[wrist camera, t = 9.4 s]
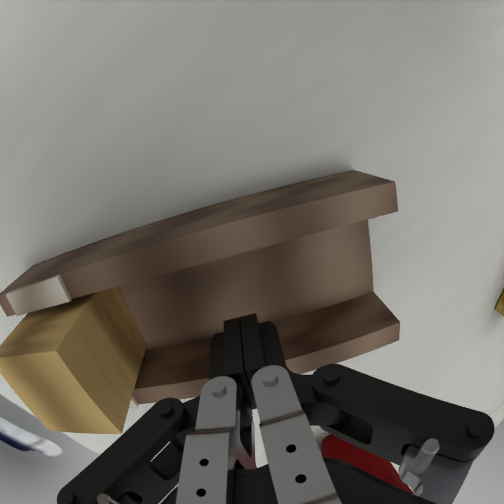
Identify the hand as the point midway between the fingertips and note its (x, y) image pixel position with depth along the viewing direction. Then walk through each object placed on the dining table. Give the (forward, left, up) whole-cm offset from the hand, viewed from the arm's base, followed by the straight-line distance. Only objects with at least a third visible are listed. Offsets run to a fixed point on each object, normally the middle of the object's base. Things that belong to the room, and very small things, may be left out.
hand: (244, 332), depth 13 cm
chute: (0, -3, -7) cm, 7 cm away
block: (0, -11, -5) cm, 12 cm away
